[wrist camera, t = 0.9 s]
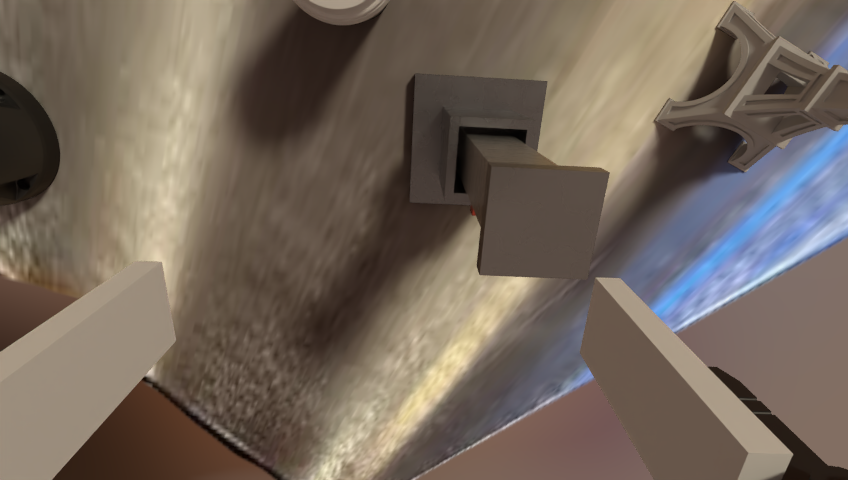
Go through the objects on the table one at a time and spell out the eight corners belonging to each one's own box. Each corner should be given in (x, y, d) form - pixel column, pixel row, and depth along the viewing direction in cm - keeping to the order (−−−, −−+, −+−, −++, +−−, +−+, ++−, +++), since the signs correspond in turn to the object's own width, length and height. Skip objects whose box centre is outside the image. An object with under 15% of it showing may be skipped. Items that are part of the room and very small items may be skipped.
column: (446, 170, 49) (479, 274, 24) (450, 115, 47) (491, 166, 22) (499, 172, 50) (587, 279, 24) (505, 118, 47) (609, 172, 22)
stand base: (409, 198, 52) (408, 234, 41) (415, 73, 47) (415, 74, 36) (525, 204, 53) (556, 241, 41) (543, 81, 48) (584, 84, 36)
